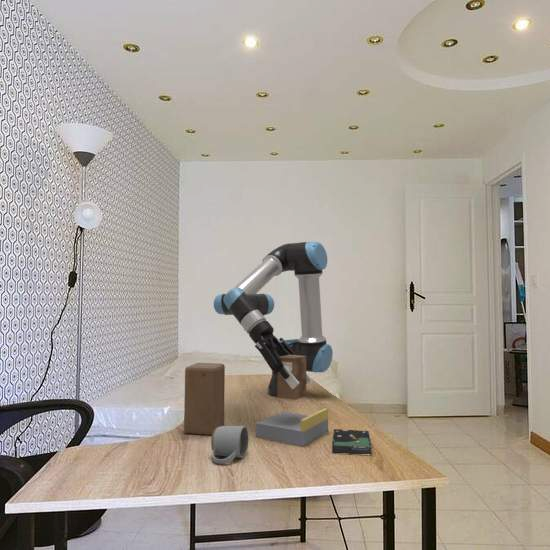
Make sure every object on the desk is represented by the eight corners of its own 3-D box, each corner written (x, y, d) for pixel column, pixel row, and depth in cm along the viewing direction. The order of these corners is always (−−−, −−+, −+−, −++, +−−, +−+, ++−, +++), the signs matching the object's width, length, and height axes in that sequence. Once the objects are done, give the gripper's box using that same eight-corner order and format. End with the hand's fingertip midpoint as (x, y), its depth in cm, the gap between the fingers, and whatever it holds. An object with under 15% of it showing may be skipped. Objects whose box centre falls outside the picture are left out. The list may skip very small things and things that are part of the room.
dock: (283, 423, 142) (283, 402, 142) (328, 431, 133) (328, 408, 134) (255, 436, 128) (255, 412, 129) (303, 446, 120) (303, 420, 120)
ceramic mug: (220, 449, 117) (220, 420, 118) (249, 452, 115) (249, 422, 116) (204, 464, 107) (204, 432, 107) (235, 467, 105) (236, 435, 105)
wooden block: (214, 436, 129) (215, 367, 130) (182, 434, 131) (183, 366, 132) (225, 426, 138) (225, 363, 140) (195, 424, 140) (196, 362, 142)
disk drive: (333, 438, 129) (332, 455, 114) (333, 428, 129) (331, 444, 115) (368, 440, 128) (372, 457, 113) (368, 430, 128) (372, 446, 113)
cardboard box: (289, 393, 136) (289, 354, 137) (306, 395, 133) (306, 356, 133) (277, 397, 130) (277, 356, 130) (294, 400, 127) (295, 358, 127)
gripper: (267, 333, 149) (309, 387, 139) (231, 337, 132) (277, 398, 122) (281, 318, 146) (324, 371, 137) (246, 320, 129) (293, 381, 120)
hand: (302, 384), depth 130 cm, fingers closed on cardboard box, 7 cm apart
